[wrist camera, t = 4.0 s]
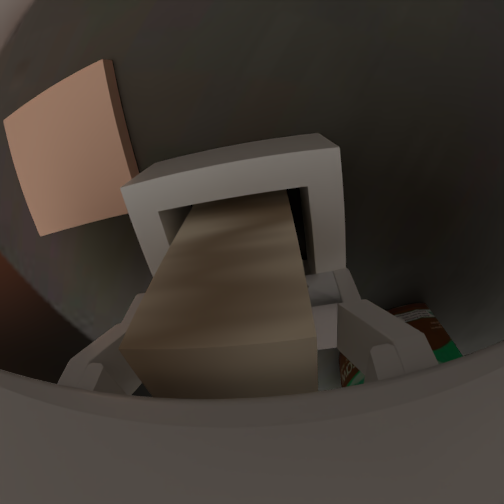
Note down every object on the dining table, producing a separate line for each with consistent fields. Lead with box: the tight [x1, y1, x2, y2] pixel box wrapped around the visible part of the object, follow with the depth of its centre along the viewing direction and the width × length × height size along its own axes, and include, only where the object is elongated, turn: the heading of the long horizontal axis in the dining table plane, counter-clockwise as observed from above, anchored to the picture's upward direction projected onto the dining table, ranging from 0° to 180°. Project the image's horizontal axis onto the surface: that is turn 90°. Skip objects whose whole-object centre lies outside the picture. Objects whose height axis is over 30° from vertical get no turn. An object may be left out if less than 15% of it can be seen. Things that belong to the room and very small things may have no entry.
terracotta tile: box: [4, 59, 140, 236], centre depth 12 cm, size 8×8×1 cm
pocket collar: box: [120, 133, 346, 277], centre depth 13 cm, size 8×8×4 cm
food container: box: [339, 303, 463, 387], centre depth 15 cm, size 12×6×10 cm, turn 173°
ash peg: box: [118, 189, 318, 399], centre depth 10 cm, size 4×4×10 cm
